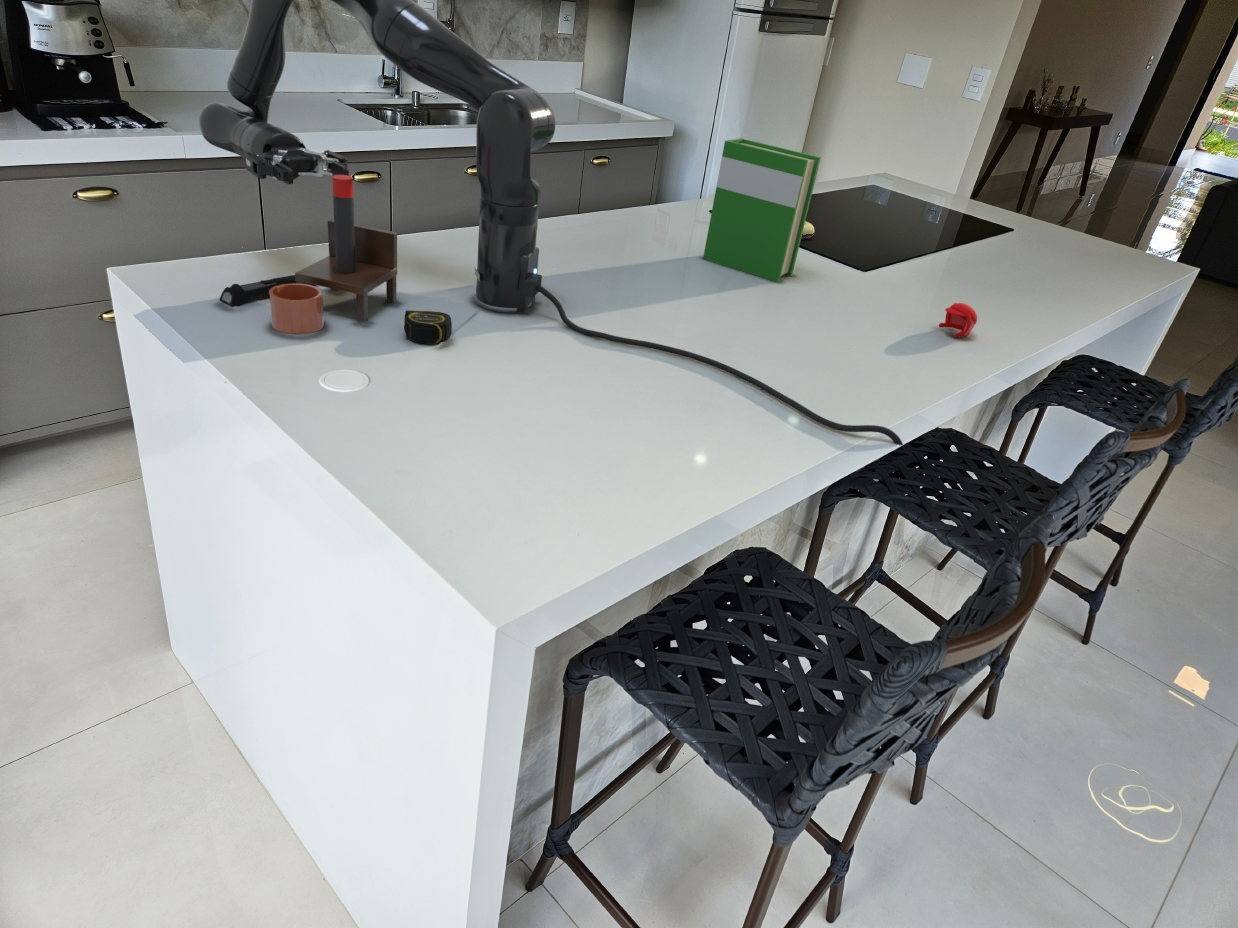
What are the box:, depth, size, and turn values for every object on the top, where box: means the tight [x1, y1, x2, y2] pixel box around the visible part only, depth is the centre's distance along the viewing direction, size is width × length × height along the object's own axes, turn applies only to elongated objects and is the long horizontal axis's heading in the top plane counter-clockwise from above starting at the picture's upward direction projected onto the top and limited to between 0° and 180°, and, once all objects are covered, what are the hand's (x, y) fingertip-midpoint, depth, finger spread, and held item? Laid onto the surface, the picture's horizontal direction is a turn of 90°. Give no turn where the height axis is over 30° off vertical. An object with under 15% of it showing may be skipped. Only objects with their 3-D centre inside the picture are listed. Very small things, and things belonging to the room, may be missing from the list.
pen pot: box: [268, 283, 325, 335], centre depth 120 cm, size 7×7×6 cm
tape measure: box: [403, 310, 453, 345], centre depth 123 cm, size 7×7×4 cm
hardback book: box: [702, 137, 822, 283], centre depth 172 cm, size 18×7×24 cm, turn 56°
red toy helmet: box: [938, 302, 978, 339], centre depth 157 cm, size 8×6×6 cm
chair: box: [294, 218, 398, 323], centre depth 128 cm, size 11×11×12 cm
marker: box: [331, 175, 356, 273], centre depth 124 cm, size 3×3×14 cm
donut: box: [801, 221, 815, 240], centre depth 206 cm, size 10×5×9 cm
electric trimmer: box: [219, 274, 317, 308], centre depth 129 cm, size 4×16×3 cm, turn 141°
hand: (318, 176), depth 126 cm, fingers open, 8 cm apart
